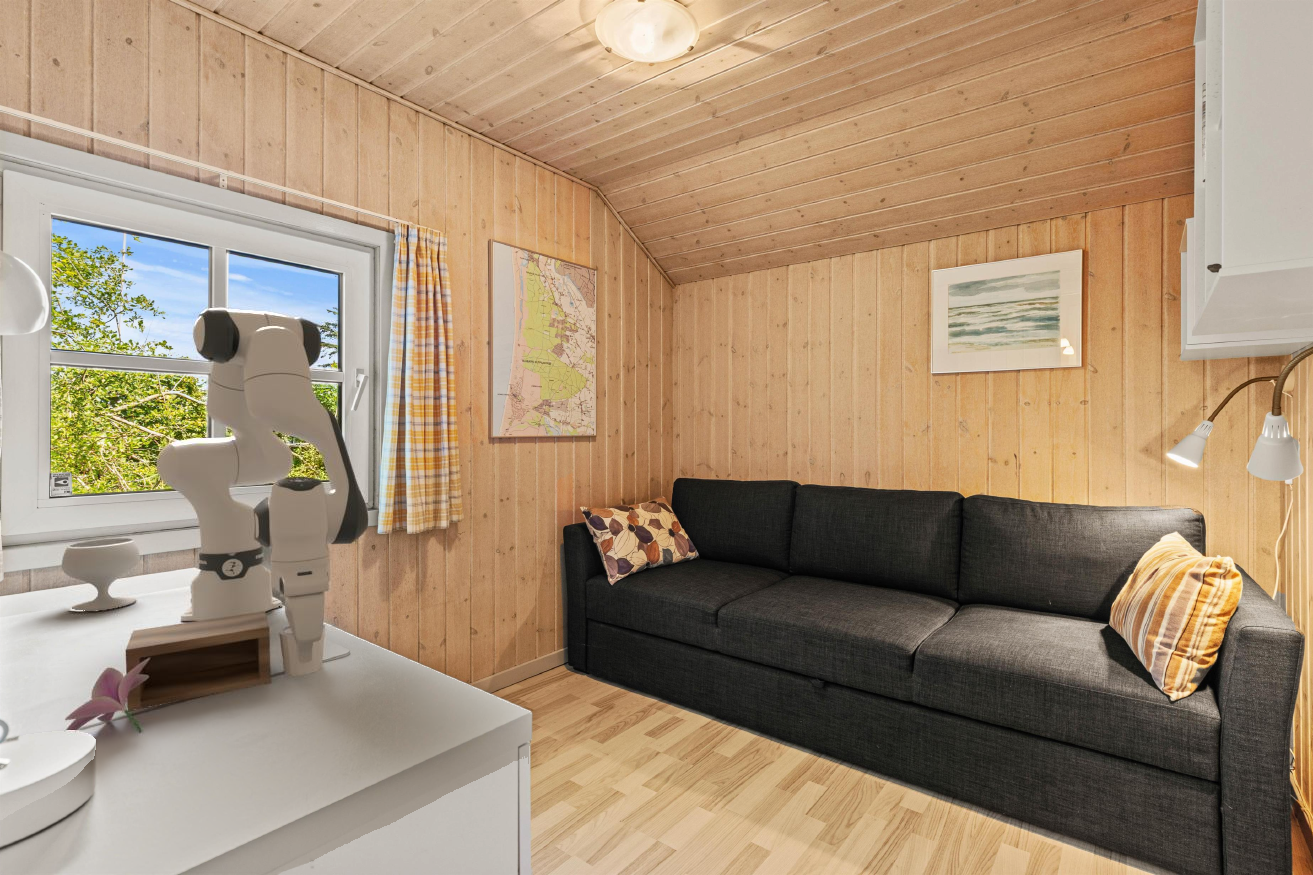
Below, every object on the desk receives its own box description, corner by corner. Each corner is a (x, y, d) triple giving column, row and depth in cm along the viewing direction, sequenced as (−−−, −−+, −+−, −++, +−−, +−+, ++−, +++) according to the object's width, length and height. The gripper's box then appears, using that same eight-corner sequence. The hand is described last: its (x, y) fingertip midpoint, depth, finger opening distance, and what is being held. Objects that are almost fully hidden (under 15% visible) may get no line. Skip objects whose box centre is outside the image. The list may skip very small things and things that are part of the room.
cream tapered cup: (306, 678, 107) (305, 635, 107) (270, 675, 109) (269, 633, 109) (335, 662, 114) (334, 622, 114) (300, 660, 115) (299, 621, 115)
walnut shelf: (135, 686, 105) (133, 630, 105) (266, 662, 115) (264, 611, 115) (127, 711, 96) (125, 649, 96) (270, 682, 106) (269, 626, 106)
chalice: (62, 606, 154) (60, 542, 154) (138, 595, 164) (136, 535, 163) (63, 618, 144) (61, 550, 144) (144, 606, 154) (142, 542, 153)
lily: (166, 712, 98) (130, 658, 97) (196, 698, 91) (156, 640, 91) (71, 773, 88) (29, 714, 87) (96, 762, 81) (51, 698, 81)
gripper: (274, 566, 118) (276, 642, 118) (284, 588, 101) (287, 678, 101) (314, 561, 122) (316, 635, 122) (330, 582, 105) (332, 669, 105)
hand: (303, 655), depth 111 cm, fingers closed on cream tapered cup, 5 cm apart
